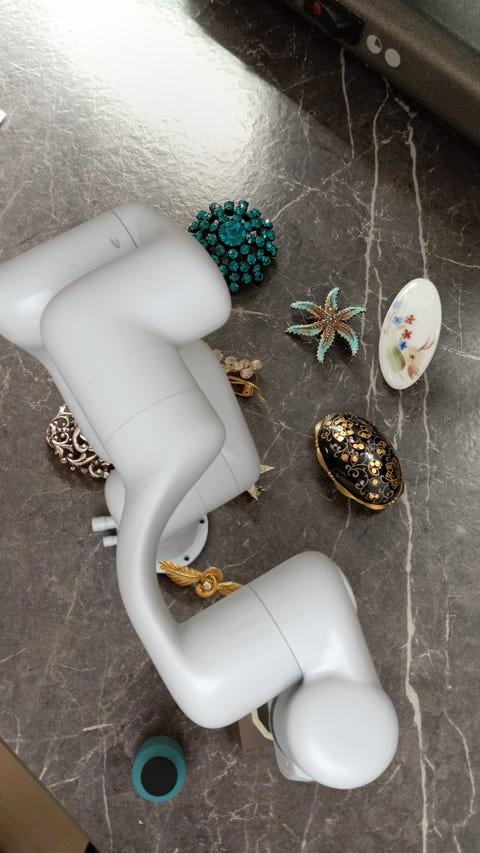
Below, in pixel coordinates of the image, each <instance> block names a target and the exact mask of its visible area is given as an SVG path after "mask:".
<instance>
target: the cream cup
mask: <svg viewBox="0 0 480 853" xmlns="http://www.w3.org/2000/svg"><path fill="white" fill-rule="evenodd" d="M246 717H247V718H248V719H249V721H250V722H251V723H252V725H253V726H254V727H255V729H256V730H257V731H259V732H260V733H261V734H262V735H263V736H264V737H265V738H268V739H270V740H273V737H272V734H271V731H270V726H269V709H268V702H266V703H265V704H263V705H262V706H260V707H258V708H257V709H255V710H254V711H252V712H251V713H249V714H247V715H246Z"/></svg>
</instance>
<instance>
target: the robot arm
mask: <svg viewBox="0 0 480 853" xmlns="http://www.w3.org/2000/svg"><path fill="white" fill-rule="evenodd" d="M229 290H230V289H229V287H228V284H227V281H226V280H225V277H224V275H223V273H222V271H221V269H220V267H219V266H218V265H217V263H216V262H215V260H214V259H213V257H212V256H211V255H210V253H209V252H208V251H207V250H206V248H205V247H204V245H202V244H201V242H200V241H199V240H198V239H197V238H195V237H194V235H192V234H191V233H190V232H189V231H188V230H187V229H186V228H185V227H183V226H181V225H180V224H179V223H178V222H176V221H175V220H173V219H172V218H171V217H169V216H167V215H166V214H164V213H163V212H161V211H160V210H158V209H157V208H155V207H154V206H152V205H151V204H149V203H147V202H145V201H140V200H134V201H128V202H125V203H122V204H119V205H117V206H115V207H113V208H111V209H108V210H107V211H103V212H102V213H100V214H97V215H96V216H94V217H92V218H89V219H88V220H85V221H84V222H82V223H79V224H78V225H76V226H74V227H72V228H70V229H68V230H65V231H64V232H62V233H61V232H60V233H59V234H57V235H55V236H53V237H50V238H48V239H47V240H44V241H43V242H40V243H37V245H34V246H31V247H30V248H29V249H27V250H24V251H22V252H21V253H19V254H16V255H15V256H12V257H11V258H9V259H7V260H5V261H4V262H2V263H0V336H2V337H3V338H4V339H6V341H8V342H10V343H12V344H13V345H15V346H16V347H18V348H20V349H22V350H23V351H25V352H26V353H29V354H30V356H32V357H34V358H35V359H36V360H38V361H39V362H40V364H41V365H42V366H44V368H45V370H46V371H47V372H48V374H49V375H50V377H51V379H52V381H53V383H54V385H55V387H56V388H57V390H58V392H59V394H60V395H61V398H62V399H63V401H64V403H65V404H66V407H67V408H68V410H69V412H70V414H71V416H72V417H73V419H74V421H75V423H76V425H77V426H78V428H79V430H80V432H81V434H82V436H83V438H84V439H85V440H86V442H87V444H88V446H89V447H90V448H91V450H92V451H93V452H94V453H95V455H96V456H97V457H98V458H100V459H101V460H102V461H103V462H105V463H107V464H111V465H113V467H114V468H113V469H112V471H111V472H110V473H109V474H108V476H107V478H106V480H105V483H104V500H105V503H106V506H107V509H108V511H109V514H110V515H106V516H105V515H103V516H102V515H101V516H94V517H91V526H92V527H91V528H92V531H93V532H92V533H95V532H103V531H107V530H113V529H116V535H107V536H102V542H103V548H107V547H113V546H116V551H115V562H116V564H115V565H116V566H115V567H116V577H117V582H118V583H117V585H118V589H119V593H120V596H121V600H122V603H123V606H124V609H125V611H126V613H127V616H128V619H129V621H130V623H131V625H132V627H133V629H134V630H135V633H136V634H137V636H138V638H139V639H140V642H141V643H142V645H143V647H144V648H145V650H146V653H147V654H148V656H149V657H150V660H151V661H152V663H153V665H154V667H155V669H156V670H157V672H158V674H159V676H160V678H161V679H162V681H163V683H164V685H165V687H166V688H167V690H168V691H169V693H170V695H171V697H172V699H173V700H174V702H175V703H176V704H177V706H178V707H179V708H180V710H181V711H182V712H183V714H184V715H185V716H186V718H188V719H190V721H192V722H193V723H195V724H196V725H198V726H200V727H203V728H205V729H221V728H224V727H227V726H230V724H232V723H234V722H236V721H237V720H239V719H241V718H242V717H244V716H246V715H247V714H249V713H251V712H252V711H254V710H255V709H257V708H258V707H260V706H262V705H263V704H265V703H266V702H268V709H269V726H270V731H271V734H272V737H273V741H274V745H273V746H274V752H275V758H276V763H277V768H278V770H279V772H280V773H281V775H283V776H284V777H285V778H286V779H288V780H290V781H297V782H303V783H304V785H305V784H311V783H318V784H321V785H323V786H324V787H329V788H332V789H339V790H353V789H357V788H362V787H364V786H366V785H368V784H370V783H372V782H373V781H375V780H376V779H377V778H379V777H380V776H381V775H382V774H383V773H384V772H385V771H386V770H387V768H388V767H389V766H390V764H391V763H392V761H393V759H394V757H395V755H396V752H397V748H398V744H399V739H400V724H399V719H398V714H397V710H396V708H395V706H394V704H393V701H392V700H391V698H390V697H389V695H388V694H387V693H386V691H385V690H384V688H383V685H382V683H381V681H380V678H379V675H378V672H377V669H376V666H375V664H374V661H373V658H372V655H371V652H370V650H369V646H368V643H367V641H366V638H365V634H364V631H363V628H362V626H361V623H360V620H359V617H358V604H357V599H356V595H355V593H354V591H353V588H352V586H351V584H350V582H349V580H348V578H347V576H346V575H345V573H344V571H343V570H342V569H341V568H340V566H339V565H338V564H336V563H335V562H333V561H332V559H330V558H329V557H328V556H327V555H325V554H324V553H323V552H320V551H317V550H316V551H315V550H306V551H303V552H300V553H297V554H295V555H293V556H291V557H290V558H288V559H286V560H285V561H283V562H281V563H279V564H277V565H276V566H275V567H273V568H271V569H270V570H268V571H266V572H264V573H263V574H261V575H259V576H258V577H256V578H255V579H253V580H252V581H250V582H248V583H246V584H244V585H243V586H240V587H239V588H237V589H235V590H234V591H232V592H231V593H229V594H227V595H226V596H224V597H223V598H221V599H219V600H218V601H216V602H214V603H213V604H211V605H209V606H207V607H206V608H204V609H203V610H201V611H199V612H197V613H196V614H194V615H193V616H191V617H190V618H188V619H186V620H185V621H183V622H178V621H177V620H176V619H175V618H174V616H173V613H171V610H170V608H169V607H168V605H167V604H166V601H165V598H164V597H163V593H162V591H161V588H160V584H159V580H158V575H157V574H167V573H170V572H166V571H164V570H162V569H161V568H160V566H161V565H162V564H160V563H158V562H159V561H168V560H170V561H171V562H173V563H176V564H178V565H181V566H185V567H188V566H189V565H190V564H191V563H193V562H194V561H195V560H196V559H197V558H198V556H199V555H200V554H201V552H202V551H203V548H204V547H205V544H206V542H207V538H208V533H209V519H208V514H209V513H210V512H213V511H214V510H215V509H218V508H219V507H221V506H223V505H224V504H226V503H228V502H230V501H232V500H234V498H236V497H238V496H239V495H241V494H243V493H244V492H247V490H249V489H250V488H252V487H253V486H255V484H256V483H257V482H258V481H259V478H260V476H261V473H262V463H261V459H260V455H259V452H258V450H257V446H256V444H255V441H254V439H253V436H252V434H251V432H250V428H249V426H248V424H247V421H246V419H245V416H244V414H243V411H242V409H241V407H240V404H239V401H238V399H237V397H236V394H235V392H234V389H233V386H232V384H231V382H230V379H229V377H228V375H227V373H226V370H225V369H224V367H223V364H222V363H221V362H220V360H219V358H218V357H217V355H216V354H215V353H214V350H212V348H210V346H209V345H208V344H207V343H206V342H205V341H204V340H202V338H204V337H206V336H208V335H210V334H211V333H213V332H215V331H217V330H219V329H220V328H222V327H223V326H224V325H225V324H226V323H227V322H228V320H229V319H230V316H231V314H232V299H231V298H232V297H231V293H230V291H229ZM201 521H203V522H201ZM186 558H188V559H187V560H186ZM185 567H183V568H181V569H179V570H176V571H172V572H171V573H174V572H177V571H180V570H182V569H184V568H185Z"/></svg>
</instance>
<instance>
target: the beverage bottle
mask: <svg viewBox="0 0 480 853" xmlns="http://www.w3.org/2000/svg"><path fill="white" fill-rule="evenodd" d="M136 752H137V753H136V754H135V757H134V758H133V762H132V767H131V781H132V784H133V787H134V789H135V791H136V792H137V793H138V794H139V796H141V798H143V799H144V800H146V801H149V802H151V803H166V802H169V801H170V800H172V799H174V798H175V797H176V796H178V794H179V793H180V792H182V789H183V788H184V786H185V783H186V780H187V773H188V772H187V763H186V757H185V751H184V748H183V747H182V744H181V743H180V742H178V740H176V739H175V737H171V736H168V735H156V734H154V735H153V736H150V737H147V739H145V740H143V742H142V743H141V745H140V746H139V747H137V751H136Z"/></svg>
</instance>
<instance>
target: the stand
mask: <svg viewBox="0 0 480 853" xmlns="http://www.w3.org/2000/svg"><path fill="white" fill-rule="evenodd" d="M229 727H230V734H231V737H232V738H233V739H234V741H235V742H236V744H237V745H238V747H240V749H241V750H242V751H247V750H253V749H259V748H267V747H271V746H274V741H273V740H270V739H268V738H265V737H264V736H263V735H262V734H261V733H260V732H259V731H257V730H256V729H255V727H254V726H253V725H252V723H251V722H250V721H249V719H248V718H247V717H246V716H244V717H242V718H241V719H239V720H237V721H236V722H234V723H232V724H230V725H229Z"/></svg>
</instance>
